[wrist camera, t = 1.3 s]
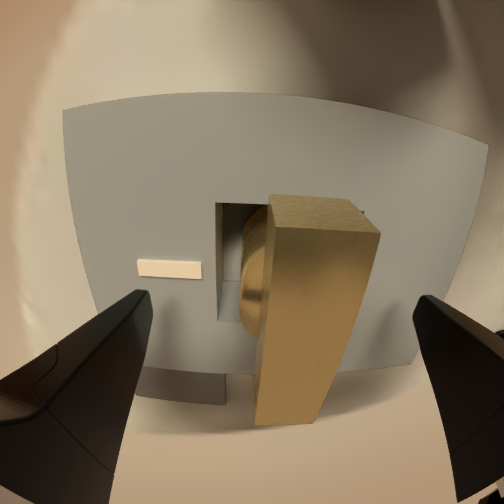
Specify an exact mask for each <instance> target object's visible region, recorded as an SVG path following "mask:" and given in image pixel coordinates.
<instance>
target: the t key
mask: <svg viewBox="0 0 504 504" xmlns="http://www.w3.org/2000/svg"><path fill="white" fill-rule="evenodd" d="M380 237H381V232H380V231H379V230H378V229H377V228H376V227H375V226H374V225H373V223H372V222H371V221H370V220H369V219H368V218H367V217H366V216H365V215H364V214H363V213H362V212H361V211H360V210H359V209H358V208H357V207H356V206H355V205H354V204H353V203H352V202H351V201H350V200H349V199H340V198H328V197H316V196H302V195H286V194H269V197H268V204H267V205H265V206H262V207H261V208H259V209H257V210H256V211H255V212H254V213H253V214H252V215H251V216H250V217H249V218H248V220H247V222H246V224H245V226H244V230H243V241H242V261H241V283H240V306H239V313H240V319H241V322H242V324H243V326H244V328H245V329H246V331H247V332H248V333H249V334H250V335H251V336H252V337H254V338H255V339H257V350H256V361H255V372H254V425H297V424H312V423H314V421H315V419H316V417H317V415H318V413H319V411H320V408H321V406H322V404H323V402H324V400H325V397H326V395H327V393H328V391H329V388H330V386H331V384H332V381H333V379H334V377H335V374H336V372H337V369H338V367H339V365H340V362H341V360H342V357H343V354H344V352H345V349H346V347H347V344H348V341H349V339H350V336H351V333H352V330H353V327H354V325H355V322H356V319H357V316H358V313H359V310H360V307H361V304H362V301H363V298H364V294H365V291H366V288H367V285H368V281H369V278H370V274H371V271H372V267H373V264H374V260H375V256H376V253H377V249H378V245H379V241H380Z"/></svg>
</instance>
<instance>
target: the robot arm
mask: <svg viewBox="0 0 504 504" xmlns="http://www.w3.org/2000/svg"><path fill="white" fill-rule="evenodd" d="M152 320H153V307H152V302H151V297H150V293H149V291H148V290H143V289H135V290H134V291H132V292H131V293H129V294H128V295H126V296H125V297H123V298H122V299H120V300H119V301H117V302H116V303H114V304H113V305H111V306H110V307H108V308H107V309H105V310H104V311H102V312H101V313H100V314H98V315H97V316H95V317H94V318H92V319H91V320H89V321H88V322H86V323H85V324H84V325H82V326H81V327H79V328H78V329H76V330H75V331H73V332H72V333H71V334H69V335H68V336H66V337H65V338H64V339H62V340H61V341H59V342H58V343H57V344H55V345H54V346H52V347H51V348H49V349H48V350H47V351H45V352H44V353H42V354H41V355H39V356H38V357H36V358H35V359H33V360H32V361H30V362H29V363H27V364H25V365H24V366H22V367H21V368H19V369H17V370H16V371H14V372H12V373H11V374H9V375H7V376H6V377H4V378H3V379H1V380H0V504H109V499H110V493H111V488H112V483H113V479H114V473H115V468H116V464H117V460H118V455H119V451H120V446H121V442H122V438H123V434H124V431H125V427H126V423H127V419H128V415H129V412H130V408H131V404H132V401H133V397H134V394H135V390H136V387H137V383H138V380H139V377H140V373H141V370H142V367H143V363H144V360H145V356H146V351H147V346H148V340H149V335H150V330H151V325H152ZM412 320H413V324H414V327H415V331H416V335H417V338H418V342H419V346H420V350H421V354H422V357H423V360H424V363H425V366H426V369H427V372H428V375H429V378H430V381H431V384H432V387H433V391H434V394H435V398H436V401H437V405H438V408H439V412H440V415H441V419H442V423H443V427H444V431H445V436H446V440H447V444H448V449H449V453H450V460H451V465H452V471H453V477H454V483H455V491H456V498H457V502H458V503H459V502H461V501H462V500H464V499H467V498H468V497H470V496H472V495H474V494H476V493H478V492H479V491H481V490H483V489H484V488H486V487H488V486H489V485H491V484H493V483H494V482H496V484H497V487H498V488H497V489H495V490H494V491H493V492H491V493H490V494H488V495H487V496H485V497H484V498H482V499H480V500H479V503H478V504H504V330H501V331H498V332H497V333H496V334H495V333H493V332H492V331H490V330H489V329H487V328H486V327H484V326H482V325H481V324H479V323H478V322H476V321H474V320H473V319H471V318H469V317H468V316H466V315H465V314H463V313H461V312H460V311H458V310H456V309H455V308H453V307H451V306H450V305H448V304H446V303H445V302H443V301H441V300H439V299H438V298H436V297H434V296H433V295H422V296H420V298H419V300H418V302H417V305H416V307H415V309H414V312H413V315H412Z"/></svg>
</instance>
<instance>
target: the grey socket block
mask: <svg viewBox="0 0 504 504" xmlns="http://www.w3.org/2000/svg"><path fill="white" fill-rule="evenodd" d="M63 135H64V150H65V162H66V171H67V180H68V187H69V195H70V201H71V207H72V213H73V219H74V224H75V229H76V234H77V238H78V243H79V247H80V252H81V256H82V260H83V264H84V268H85V272H86V275H87V279H88V282H89V286H90V289H91V293H92V296H93V299H94V302H95V305H96V309H97V312H98V314H100V313H101V312H102V311H104V310H105V309H107V308H108V307H110V306H111V305H113V304H114V303H116V302H117V301H119V300H120V299H122V298H123V297H125V296H126V295H128V294H129V293H131V292H132V291H134V290H135V289H143V290H148V291H149V293H150V297H151V302H152V307H153V320H152V325H151V330H150V335H149V340H148V346H147V351H146V356H145V360H144V363H143V366H147V367H155V368H163V369H171V370H181V371H192V372H204V373H220V374H244V375H254V372H255V361H256V350H257V339H255V338H254V337H252V336H251V335H250V334H249V333H248V332H247V331H246V329H245V328H244V326H243V324H242V322H241V319H240V313H239V306H240V283H241V282H238V281H223V203H248V204H268V197H269V194H286V195H302V196H316V197H328V198H340V199H349V200H350V201H351V202H352V203H353V204H354V205H355V206H356V207H357V208H358V209H359V210H360V211H361V212H362V213H363V214H364V215H365V216H366V217H367V218H368V219H369V220H370V221H371V222H372V223H373V225H374V226H375V227H376V228H377V229H378V230H379V231H380V232H381V237H380V241H379V245H378V249H377V253H376V256H375V260H374V264H373V267H372V271H371V274H370V278H369V281H368V285H367V288H366V291H365V294H364V298H363V301H362V304H361V307H360V310H359V313H358V316H357V319H356V322H355V325H354V327H353V330H352V333H351V336H350V339H349V341H348V344H347V347H346V349H345V352H344V354H343V357H342V360H341V362H340V365H339V367H338V369H337V372H350V371H361V370H370V369H379V368H386V367H394V366H401V365H407V364H411V362H412V360H413V359H414V357H415V355H416V354H417V352H418V350H419V348H420V346H419V342H418V338H417V335H416V331H415V327H414V324H413V320H412V315H413V312H414V309H415V307H416V305H417V302H418V300H419V298H420V296H422V295H433V296H434V297H436V298H438V299H439V300H441V301H444V298H445V296H446V294H447V292H448V289H449V287H450V284H451V282H452V280H453V277H454V275H455V272H456V269H457V267H458V264H459V261H460V259H461V256H462V253H463V250H464V247H465V244H466V241H467V238H468V235H469V232H470V229H471V225H472V222H473V218H474V215H475V211H476V207H477V203H478V199H479V195H480V191H481V187H482V182H483V177H484V172H485V167H486V161H487V155H488V148H489V145H487V144H484V143H482V142H480V141H477V140H475V139H472V138H470V137H467V136H465V135H462V134H459V133H457V132H454V131H451V130H448V129H445V128H442V127H439V126H436V125H433V124H430V123H427V122H423V121H420V120H417V119H413V118H410V117H406V116H402V115H398V114H395V113H391V112H386V111H382V110H378V109H373V108H369V107H364V106H359V105H354V104H348V103H342V102H336V101H330V100H323V99H316V98H308V97H300V96H290V95H278V94H264V93H242V92H198V93H176V94H162V95H151V96H142V97H133V98H126V99H119V100H112V101H106V102H100V103H95V104H89V105H84V106H79V107H75V108H70V109H66V110H63ZM337 372H336V373H337Z"/></svg>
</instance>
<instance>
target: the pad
mask: <svg viewBox="0 0 504 504" xmlns="http://www.w3.org/2000/svg"><path fill="white" fill-rule="evenodd" d="M135 394H136V395H138V396H144V397H150V398H157V399H164V400H171V401H180V402H189V403H200V404H213V405H226V391H225V374H220V373H204V372H192V371H181V370H171V369H163V368H155V367H147V366H143V367H142V370H141V373H140V377H139V380H138V383H137V387H136V390H135Z"/></svg>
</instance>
